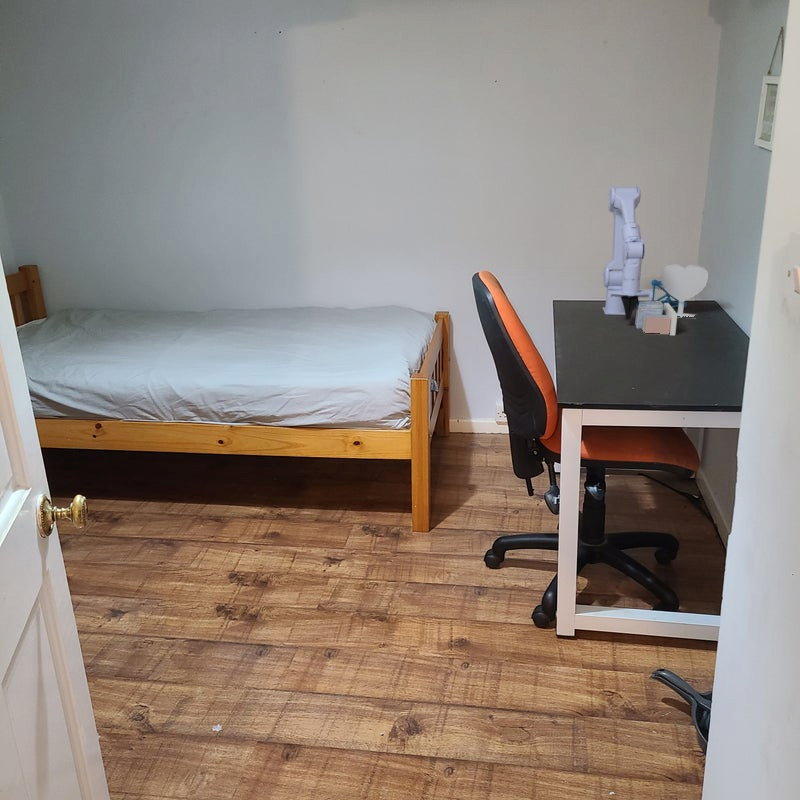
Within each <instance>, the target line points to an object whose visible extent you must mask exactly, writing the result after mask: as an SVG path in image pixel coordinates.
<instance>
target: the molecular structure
mask: <svg viewBox="0 0 800 800" xmlns="http://www.w3.org/2000/svg"><path fill="white" fill-rule="evenodd" d="M650 284H651V286H652V292H653V298H651V300H650V301H661V302H662V303H663V307H664V303H669V304H670V306H671V307H672V308H673V309H674V308H678V305H679V300H677V299H676V298H674V297H673V296H671V295H670V294H669V293H668V292H667V291H666V290H665V289H664V287H663V285H662V283H661V280H657V279H652V281H650ZM656 287H658V288H659V289H660V290H661V291H663V292H664V293H665V294H664V295H662V296H661V297H659V298H657V299H656V300H655V293H656ZM664 298H665V300H663V299H664ZM671 298H672V299H674V300H672V299H671ZM671 304H674V305H671ZM687 305H688V304H687V302H686V300H685V301H684V307H683V309H686V307H687Z"/></svg>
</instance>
